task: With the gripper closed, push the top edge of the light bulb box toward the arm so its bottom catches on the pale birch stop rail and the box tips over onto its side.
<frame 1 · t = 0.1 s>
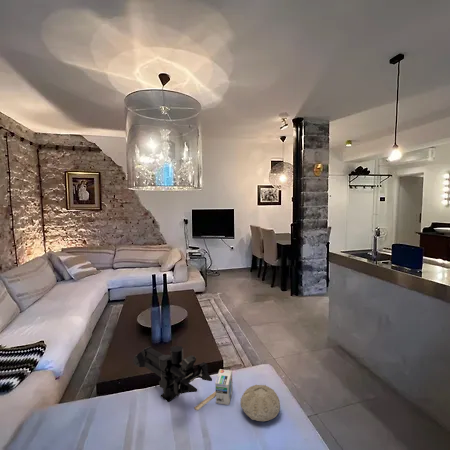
hand: (204, 385, 119), 17 cm above the table, tool horizontal, fingers open, 9 cm apart
beige carved stone: (260, 412, 125), on the table
light bulb box: (224, 396, 136), on the table, touching stop rail
stop rail: (214, 394, 137), on the table
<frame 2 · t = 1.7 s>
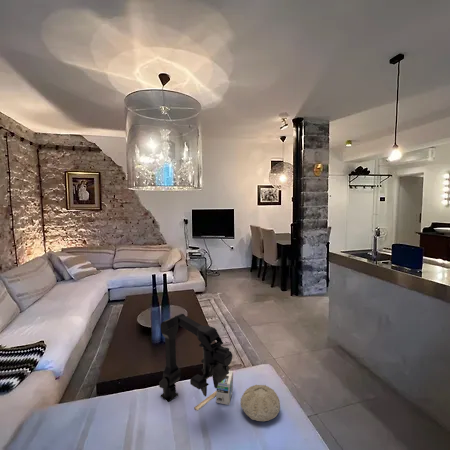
hand: (210, 392, 120), 13 cm above the table, tool pointing down, fingers open, 6 cm apart
nothing on the table moved.
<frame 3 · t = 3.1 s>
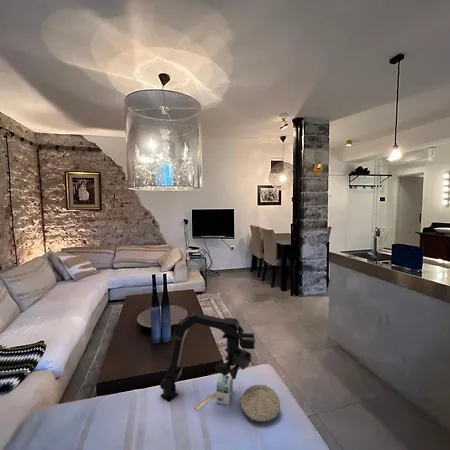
hand: (234, 378, 128), 13 cm above the table, tool pointing down, fingers closed
nothing on the table moved.
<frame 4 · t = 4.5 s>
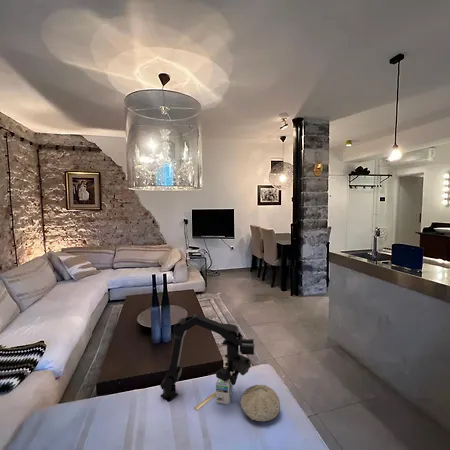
hand: (233, 384, 131), 9 cm above the table, tool pointing down, fingers closed
light bulb box: (224, 396, 136), on the table, touching gripper, stop rail
everything else where it was.
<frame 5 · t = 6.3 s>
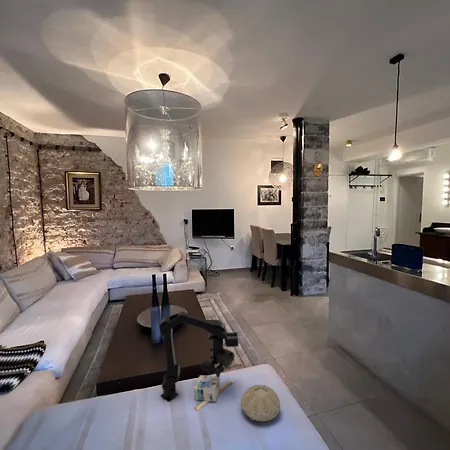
hand: (218, 376, 138), 9 cm above the table, tool pointing down, fingers closed
light bulb box: (218, 388, 136), point 4 cm above the table, touching stop rail
everything else where it was.
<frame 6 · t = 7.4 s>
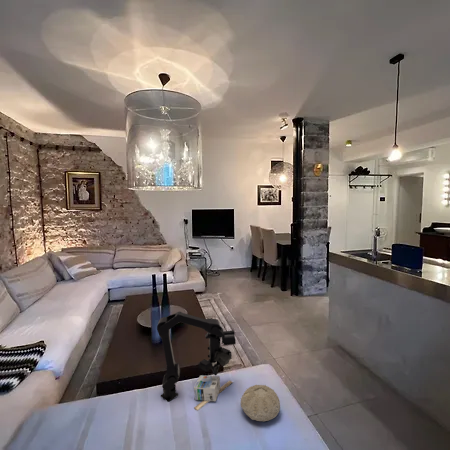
hand: (215, 375, 139), 9 cm above the table, tool pointing down, fingers closed
nothing on the table moved.
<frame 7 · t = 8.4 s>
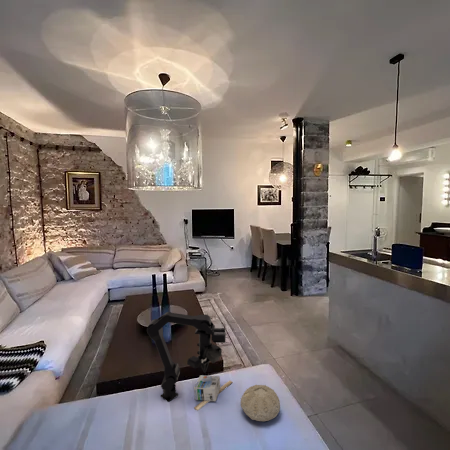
hand: (204, 372, 135), 13 cm above the table, tool pointing down, fingers closed
nothing on the table moved.
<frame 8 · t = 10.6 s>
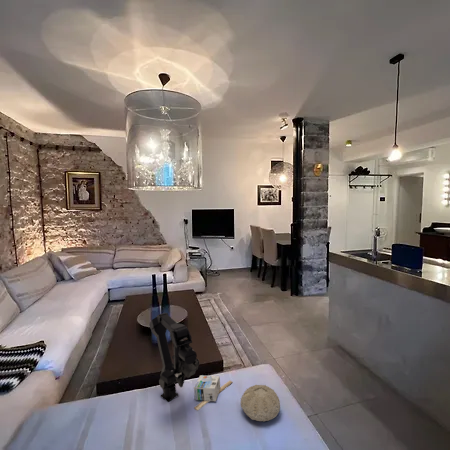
hand: (181, 386, 126), 12 cm above the table, tool pointing down, fingers closed
nothing on the table moved.
at the end: light bulb box tilted 94°; light bulb box inside the target area (1.7 cm from its centre), point 4.1 cm above the table; the gripper is holding nothing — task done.
